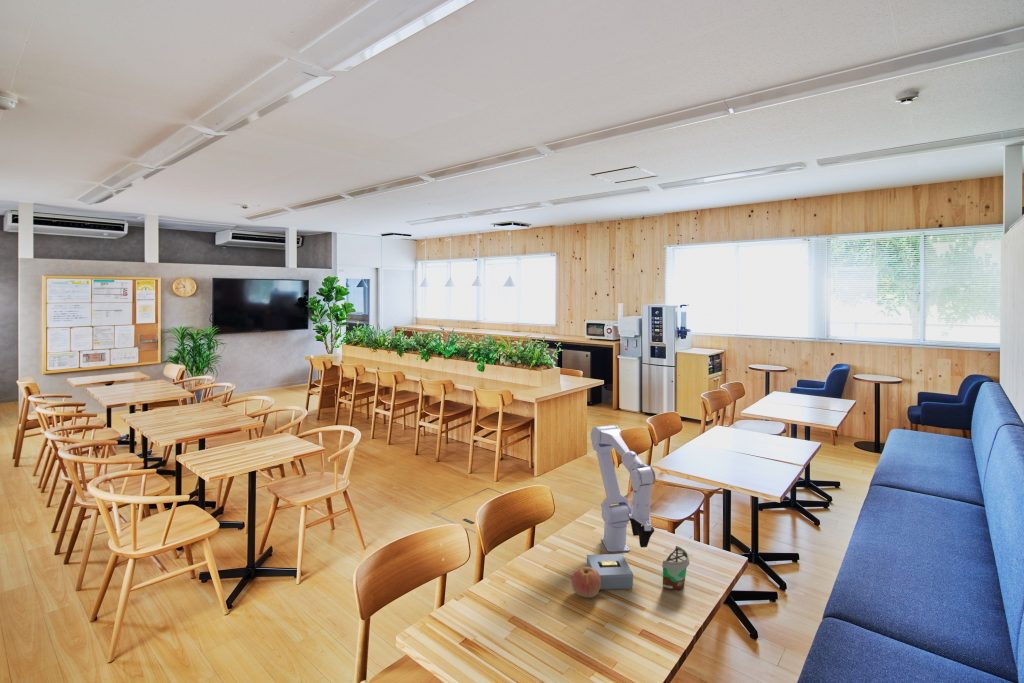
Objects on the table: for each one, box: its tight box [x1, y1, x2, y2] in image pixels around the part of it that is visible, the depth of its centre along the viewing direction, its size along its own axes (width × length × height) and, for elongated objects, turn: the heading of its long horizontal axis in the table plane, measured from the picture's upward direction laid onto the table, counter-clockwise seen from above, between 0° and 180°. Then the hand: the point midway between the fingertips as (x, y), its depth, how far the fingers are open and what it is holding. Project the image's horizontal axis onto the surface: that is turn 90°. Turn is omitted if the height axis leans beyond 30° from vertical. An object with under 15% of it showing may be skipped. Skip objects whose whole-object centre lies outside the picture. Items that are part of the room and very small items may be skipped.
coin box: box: [586, 553, 634, 591], centre depth 168 cm, size 12×12×5 cm
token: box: [601, 561, 618, 568], centre depth 168 cm, size 2×5×5 cm, turn 94°
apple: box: [571, 566, 601, 599], centre depth 159 cm, size 9×9×8 cm
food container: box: [661, 545, 690, 592], centre depth 165 cm, size 12×6×10 cm, turn 143°
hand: (639, 540), depth 174 cm, fingers open, 7 cm apart
